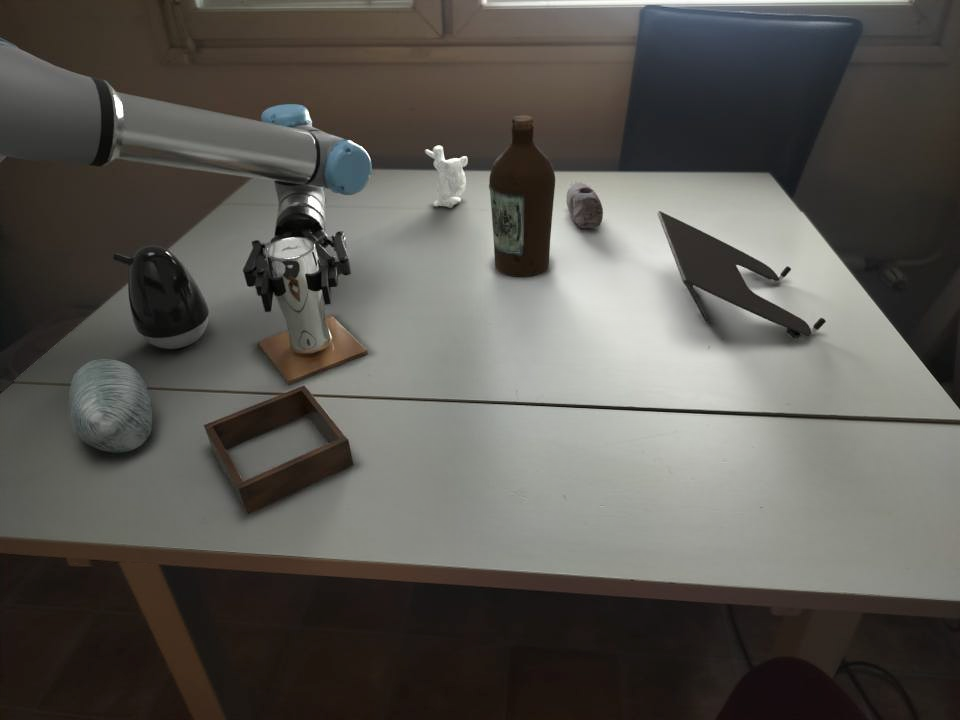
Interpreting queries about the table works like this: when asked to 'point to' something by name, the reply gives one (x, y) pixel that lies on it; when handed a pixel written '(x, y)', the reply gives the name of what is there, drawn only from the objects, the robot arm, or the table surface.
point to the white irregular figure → (448, 177)
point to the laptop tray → (726, 274)
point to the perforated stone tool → (584, 205)
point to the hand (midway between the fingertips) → (296, 299)
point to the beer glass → (299, 292)
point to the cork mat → (309, 364)
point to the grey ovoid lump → (110, 406)
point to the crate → (290, 473)
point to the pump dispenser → (164, 298)
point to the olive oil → (522, 204)
